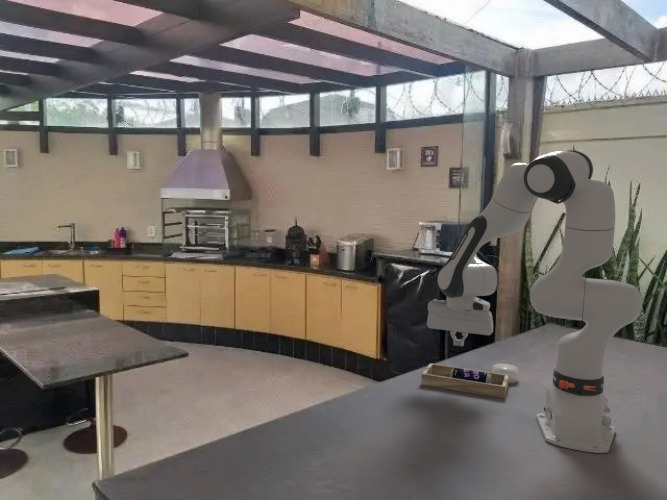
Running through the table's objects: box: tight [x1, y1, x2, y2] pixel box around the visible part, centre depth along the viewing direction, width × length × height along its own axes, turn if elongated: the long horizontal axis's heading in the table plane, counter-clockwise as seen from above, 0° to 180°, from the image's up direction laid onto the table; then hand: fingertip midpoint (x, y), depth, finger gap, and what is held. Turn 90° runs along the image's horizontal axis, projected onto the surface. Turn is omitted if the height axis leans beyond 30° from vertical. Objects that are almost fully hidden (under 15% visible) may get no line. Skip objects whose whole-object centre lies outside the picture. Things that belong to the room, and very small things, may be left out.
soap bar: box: [492, 363, 519, 384], centre depth 171 cm, size 8×8×4 cm
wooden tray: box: [420, 362, 509, 399], centre depth 165 cm, size 12×25×4 cm, turn 67°
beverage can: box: [450, 367, 492, 384], centre depth 162 cm, size 6×6×12 cm
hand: (458, 345), depth 165 cm, fingers closed
